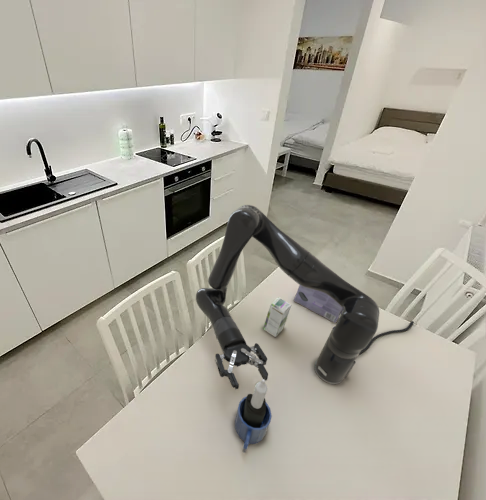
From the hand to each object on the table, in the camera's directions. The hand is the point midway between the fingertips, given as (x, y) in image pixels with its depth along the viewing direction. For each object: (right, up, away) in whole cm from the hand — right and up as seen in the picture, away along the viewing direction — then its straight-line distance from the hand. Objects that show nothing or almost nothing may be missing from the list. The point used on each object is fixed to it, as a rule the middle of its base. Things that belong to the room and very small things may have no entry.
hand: (252, 383), depth 76 cm
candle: (+1, -16, +7) cm, 17 cm away
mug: (0, -17, +6) cm, 18 cm away
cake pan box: (+37, +10, +44) cm, 58 cm away
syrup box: (+16, +4, +35) cm, 39 cm away
